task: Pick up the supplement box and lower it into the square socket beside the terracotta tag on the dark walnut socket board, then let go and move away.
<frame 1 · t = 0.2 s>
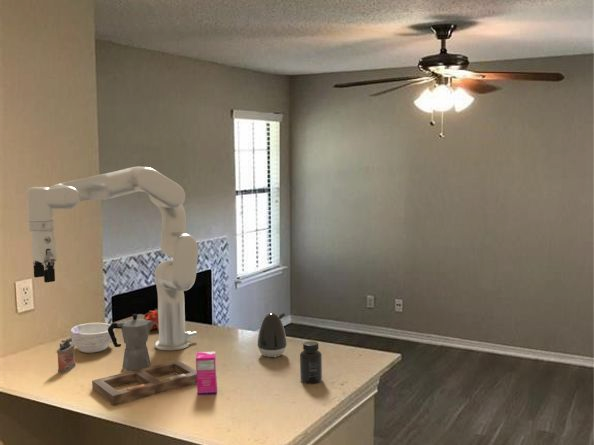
hand: (44, 279, 209), 31 cm above the table, tool pointing down, fingers open, 9 cm apart
dragon fruit: (154, 329, 262), on the table
dark grey tapered dome: (272, 355, 230), on the table
supplement bottle: (311, 380, 206), on the table
supplement box: (207, 391, 197), on the table
lighter: (66, 369, 216), on the table
socket board: (148, 386, 201), on the table
paper bowls: (93, 349, 237), on the table
coffeepot: (133, 367, 218), on the table
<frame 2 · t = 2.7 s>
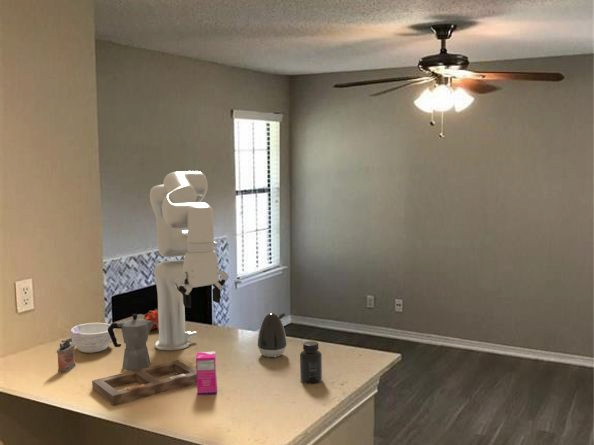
hand: (202, 304, 194), 27 cm above the table, tool pointing down, fingers open, 9 cm apart
nothing on the table moved.
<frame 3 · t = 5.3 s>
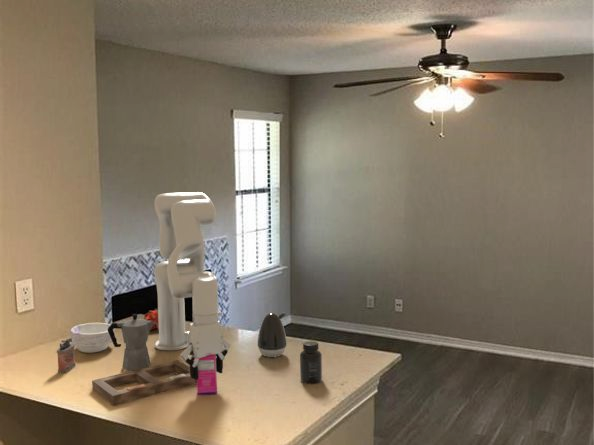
hand: (206, 375, 196), 5 cm above the table, tool pointing down, fingers closed on supplement box, 7 cm apart
supplement box: (207, 391, 197), on the table, touching gripper
everything else where it was.
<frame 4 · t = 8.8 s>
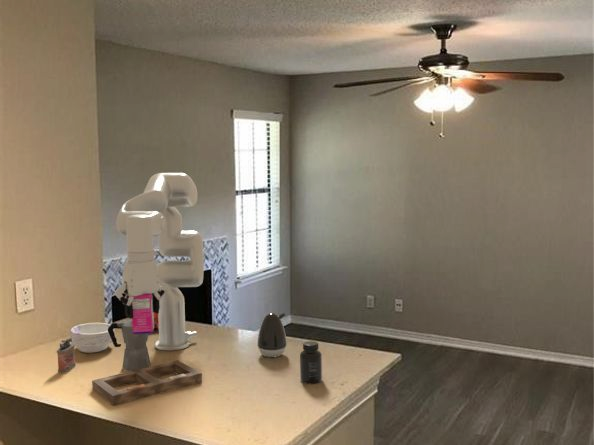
hand: (142, 314, 194), 24 cm above the table, tool pointing down, fingers closed on supplement box, 7 cm apart
supplement box: (143, 331, 195), point 18 cm above the table, touching gripper
everything else where it was.
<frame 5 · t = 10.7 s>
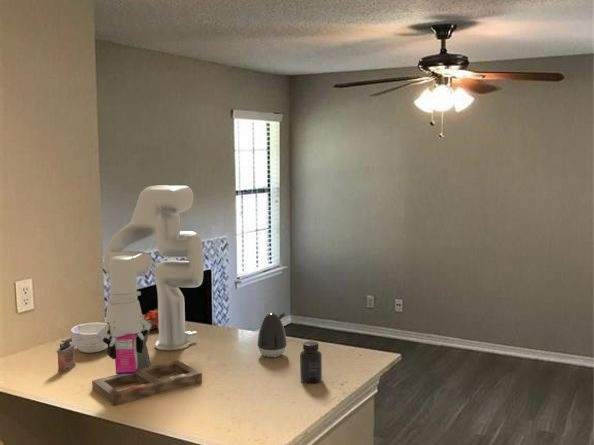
hand: (126, 354, 196), 11 cm above the table, tool pointing down, fingers closed on supplement box, 7 cm apart
supplement box: (126, 371, 196), point 6 cm above the table, touching gripper
everything else where it was.
when the fingers open (6 cm above the table, at t = 12.5 s): supplement box stays where it is, resting in socket board.
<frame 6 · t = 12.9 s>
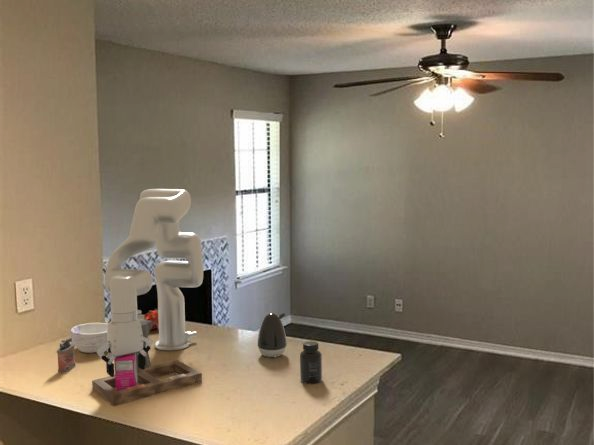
hand: (126, 371, 196), 6 cm above the table, tool pointing down, fingers open, 9 cm apart
supplement box: (127, 392, 197), resting in socket board
everything else where it was.
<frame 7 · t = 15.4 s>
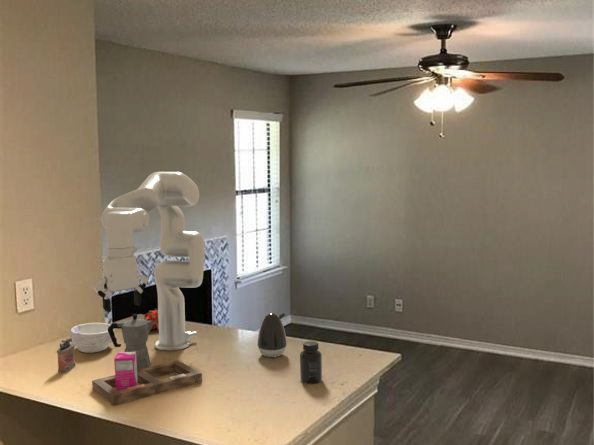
hand: (122, 308, 198), 25 cm above the table, tool pointing down, fingers open, 9 cm apart
nothing on the table moved.
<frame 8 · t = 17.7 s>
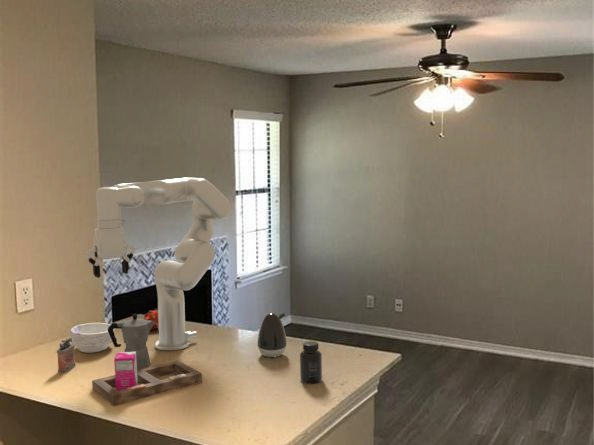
hand: (111, 275, 219), 30 cm above the table, tool pointing down, fingers open, 9 cm apart
nothing on the table moved.
at the end: supplement box 0.1 cm from the target spot on the socket board, point 0.0 cm above the socket board's base; supplement box tilted 0°; the gripper is holding nothing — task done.
